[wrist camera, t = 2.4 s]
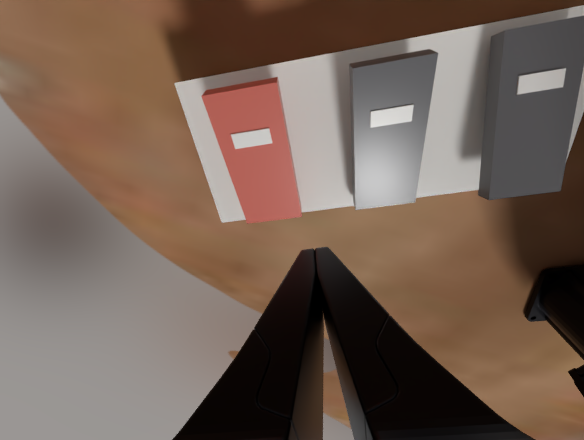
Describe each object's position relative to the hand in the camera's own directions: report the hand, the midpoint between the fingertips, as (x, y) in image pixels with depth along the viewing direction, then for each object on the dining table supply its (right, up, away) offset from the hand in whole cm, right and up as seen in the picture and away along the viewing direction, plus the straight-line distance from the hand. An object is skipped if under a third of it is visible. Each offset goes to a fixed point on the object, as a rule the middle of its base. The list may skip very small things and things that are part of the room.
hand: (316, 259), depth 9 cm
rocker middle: (+4, +6, +6) cm, 10 cm away
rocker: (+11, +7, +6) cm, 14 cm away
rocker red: (-3, +5, +7) cm, 9 cm away
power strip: (+7, +8, +10) cm, 14 cm away
